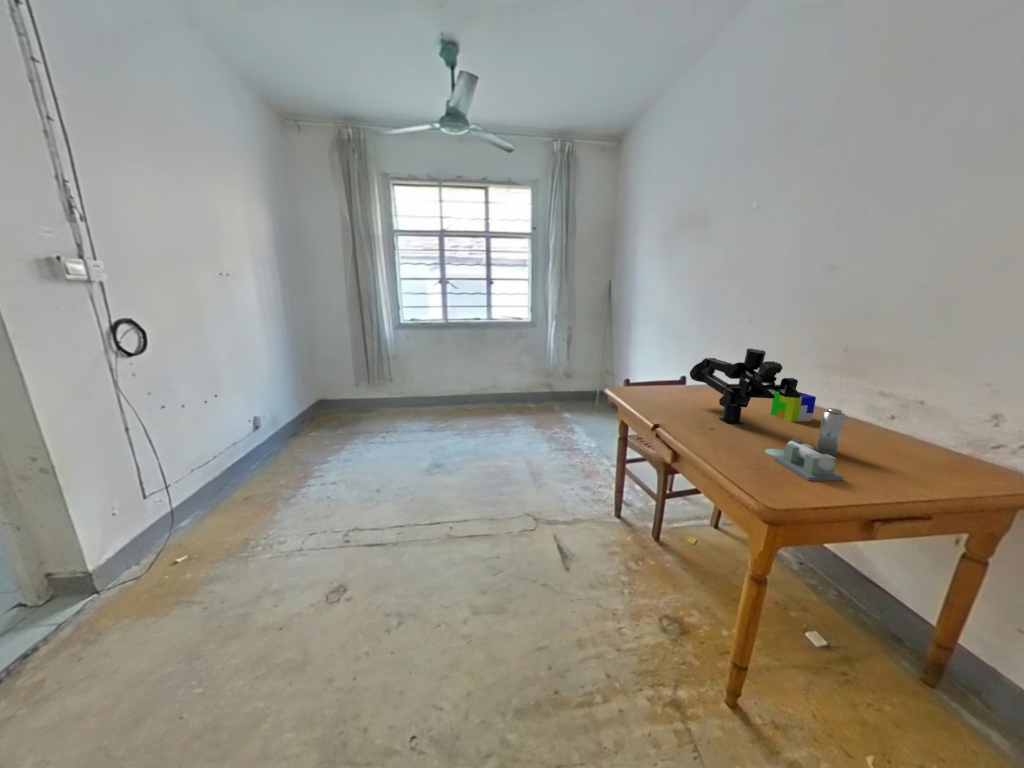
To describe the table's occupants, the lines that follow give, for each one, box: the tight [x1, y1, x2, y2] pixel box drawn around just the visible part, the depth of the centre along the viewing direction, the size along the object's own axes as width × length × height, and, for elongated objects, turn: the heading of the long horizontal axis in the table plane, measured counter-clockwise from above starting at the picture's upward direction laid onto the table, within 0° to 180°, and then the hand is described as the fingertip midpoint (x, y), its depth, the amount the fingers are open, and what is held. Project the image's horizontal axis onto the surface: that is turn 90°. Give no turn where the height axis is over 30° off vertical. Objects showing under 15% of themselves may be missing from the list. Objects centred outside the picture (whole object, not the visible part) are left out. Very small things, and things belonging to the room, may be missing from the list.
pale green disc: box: [764, 448, 785, 458], centre depth 130 cm, size 8×8×1 cm
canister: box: [815, 407, 846, 456], centre depth 131 cm, size 6×6×14 cm
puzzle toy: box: [770, 391, 817, 423], centre depth 167 cm, size 10×10×10 cm
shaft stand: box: [773, 437, 845, 482], centre depth 118 cm, size 14×10×7 cm
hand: (787, 396), depth 134 cm, fingers open, 9 cm apart
